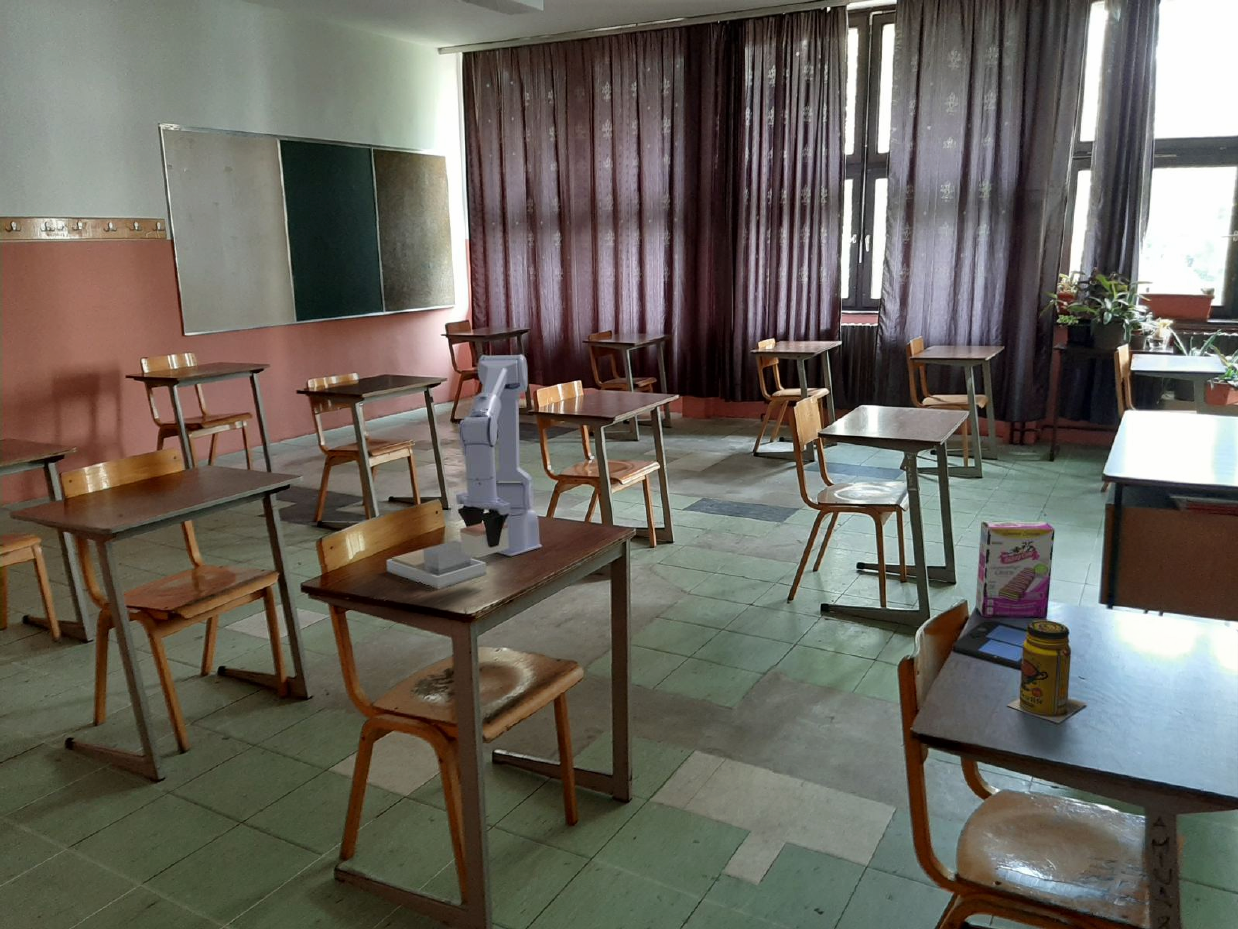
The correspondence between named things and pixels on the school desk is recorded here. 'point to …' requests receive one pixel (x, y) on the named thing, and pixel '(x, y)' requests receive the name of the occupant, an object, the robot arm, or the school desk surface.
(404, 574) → the tray
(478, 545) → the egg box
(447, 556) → the steel block
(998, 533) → the candy bar box
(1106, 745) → the school desk surface
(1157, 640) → the school desk surface
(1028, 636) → the condiment
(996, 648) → the game console
